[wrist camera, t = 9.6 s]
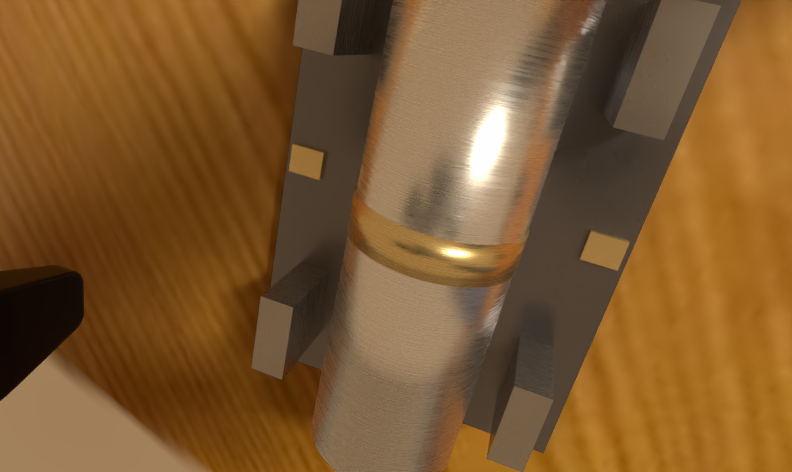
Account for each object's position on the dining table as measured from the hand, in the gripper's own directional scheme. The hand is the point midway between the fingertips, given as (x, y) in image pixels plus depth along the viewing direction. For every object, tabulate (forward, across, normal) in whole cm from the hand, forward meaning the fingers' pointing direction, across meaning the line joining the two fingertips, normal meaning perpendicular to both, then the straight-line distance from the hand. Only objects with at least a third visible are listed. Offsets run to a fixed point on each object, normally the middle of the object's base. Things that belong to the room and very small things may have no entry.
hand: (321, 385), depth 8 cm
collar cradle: (+11, 0, 0) cm, 11 cm away
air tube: (+10, 0, 0) cm, 10 cm away
